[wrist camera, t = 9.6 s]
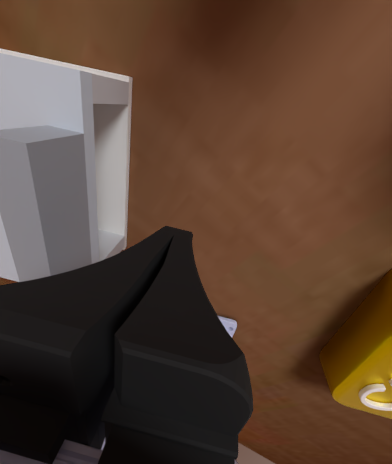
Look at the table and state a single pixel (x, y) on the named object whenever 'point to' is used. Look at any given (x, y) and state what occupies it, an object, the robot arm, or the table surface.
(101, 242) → the housing
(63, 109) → the lid
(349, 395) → the element tile
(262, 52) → the table surface
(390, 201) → the table surface
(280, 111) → the table surface
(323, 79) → the table surface
